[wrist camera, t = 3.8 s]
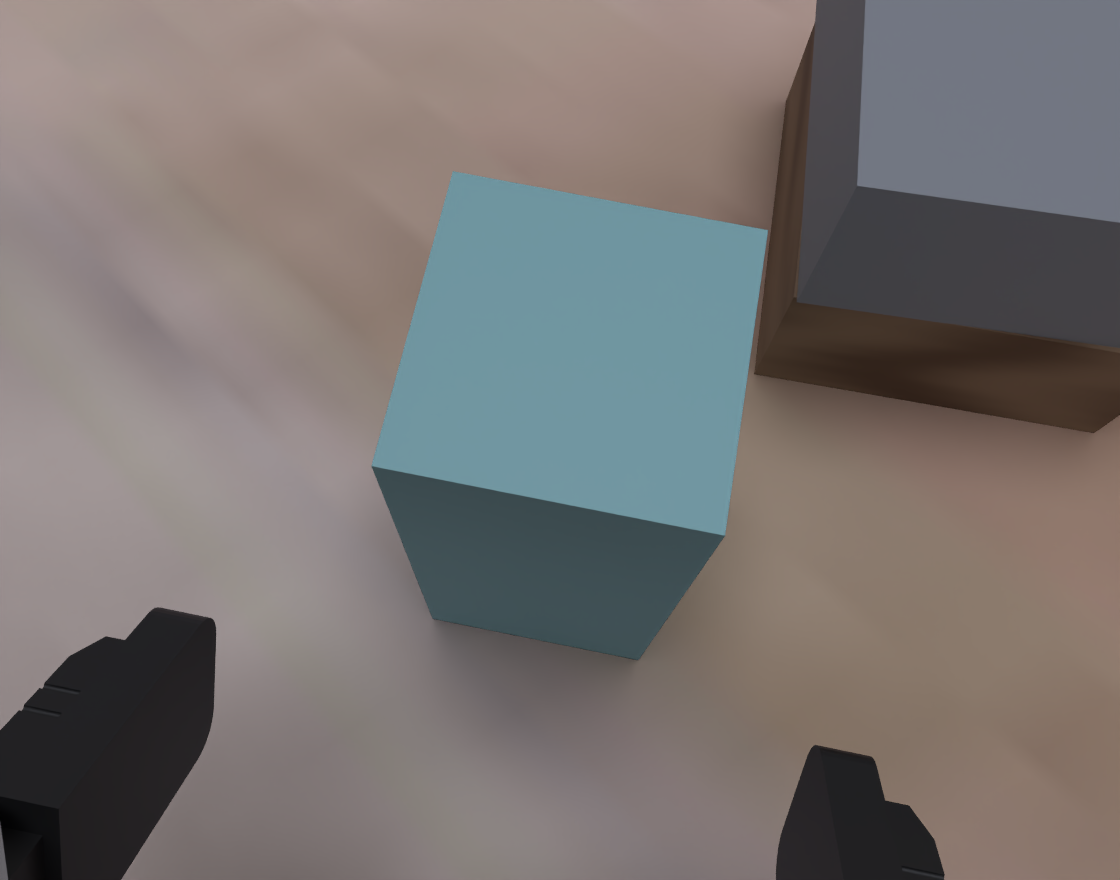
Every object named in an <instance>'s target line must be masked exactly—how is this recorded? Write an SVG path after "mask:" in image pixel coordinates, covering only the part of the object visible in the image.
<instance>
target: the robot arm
mask: <svg viewBox="0 0 1120 880" xmlns="http://www.w3.org/2000/svg"><path fill="white" fill-rule="evenodd" d="M215 652H216V626H215V622H214V620H213V619H212V618H208V617H203V616H198V615H193V614H189V613H184V612H179V611H174V610H169V609H164V608H159V607H157V608H154V609H153V610H151V611H150V612H149V613H148V614H147V616H146V617H145V618H144V619H143V620H142V621H141V622H140V624H139V625H138V626H137V627H136V628H135V629H134V631H133V632H132V633H131V634H130V635H129V636H128V637H127V639H126V640H121V639H116V638H111V637H104V638H102V639H100V640H99V641H97V642H95V643H93V644H91V645H89V646H87V647H86V648H84V649H82V650H80V651H78V652H76V653H75V654H73V655H71V656H69V657H68V658H67V659H66V660H65V661H64V663H63V664H62V665H61V666H60V667H59V668H58V669H57V670H56V671H55V672H54V673H53V674H52V675H51V676H50V678H49V679H48V680H47V681H46V682H45V683H44V687H43V689H41V688H39V689H38V690H37V692H36V693H35V694H34V695H33V696H32V697H31V698H30V699H29V700H28V701H27V702H26V703H25V704H24V708H23V710H22V711H18V712H17V713H16V714H15V715H14V716H13V717H12V718H11V719H10V721H9V722H8V723H7V724H6V725H5V726H4V727H3V728H2V729H1V730H0V880H121V879H122V877H123V876H124V874H125V873H126V871H127V869H128V868H129V866H130V865H131V863H132V862H133V860H134V858H135V857H136V855H137V854H138V852H139V851H140V849H141V847H142V846H143V844H144V843H145V841H146V840H147V838H148V836H149V835H150V833H151V832H152V830H153V829H154V827H155V826H156V824H157V822H158V821H159V819H160V818H161V816H162V815H163V813H164V811H165V810H166V808H167V807H168V805H169V804H170V802H171V800H172V799H173V797H174V796H175V794H176V793H177V791H178V789H179V788H180V786H181V785H182V783H183V782H184V780H185V778H186V777H187V775H188V774H189V772H190V771H191V769H192V767H193V766H194V764H195V763H196V761H197V760H198V758H199V756H200V754H201V752H202V750H203V748H204V746H205V743H206V740H207V738H208V734H209V731H210V727H211V723H212V718H213V710H214V683H215ZM944 875H945V874H944V871H943V868H942V864H941V861H940V857H939V854H938V851H937V847H936V844H935V840H934V839H933V837H932V836H931V835H930V833H929V832H928V830H927V829H926V828H925V826H924V825H923V824H922V822H921V821H920V820H919V818H918V817H917V816H916V814H915V813H914V812H913V810H912V809H911V808H910V806H908V805H903V804H899V803H894V802H889V801H885V798H884V794H883V790H882V786H881V782H880V778H879V774H878V770H877V766H876V763H875V761H874V759H873V758H872V757H870V756H866V755H861V754H856V753H852V752H847V751H842V750H837V749H832V748H827V747H823V746H818V745H815V746H813V747H812V748H811V750H810V752H809V754H808V756H807V759H806V762H805V765H804V768H803V771H802V774H801V776H800V779H799V782H798V785H797V788H796V791H795V794H794V797H793V800H792V803H791V806H790V809H789V812H788V815H787V818H786V821H785V824H784V827H783V830H782V833H781V837H780V842H779V847H778V854H777V865H776V880H944Z"/></svg>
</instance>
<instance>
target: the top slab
mask: <svg viewBox="0 0 1120 880" xmlns="http://www.w3.org/2000/svg"><path fill="white" fill-rule="evenodd" d="M797 302H799V303H806V304H813V305H820V306H827V307H834V308H841V309H848V310H855V311H862V312H869V313H876V314H883V315H890V316H897V317H905V318H912V319H919V320H926V321H933V322H940V323H949V324H956V325H962V326H969V327H976V328H983V329H990V330H997V331H1004V332H1011V333H1018V334H1025V335H1032V336H1039V337H1046V338H1053V339H1060V340H1067V341H1074V342H1081V343H1088V344H1095V345H1102V346H1109V347H1116V348H1120V0H817V4H816V19H815V34H814V49H813V64H812V79H811V94H810V109H809V124H808V139H807V154H806V169H805V184H804V199H803V216H802V231H801V246H800V261H799V277H798V292H797Z"/></svg>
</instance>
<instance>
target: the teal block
mask: <svg viewBox="0 0 1120 880" xmlns="http://www.w3.org/2000/svg"><path fill="white" fill-rule="evenodd" d="M767 234H768V230H764V229H759V228H753V227H748V226H743V225H737V224H732V223H726V222H721V221H716V220H710V219H705V218H700V217H694V216H689V215H684V214H678V213H673V212H668V211H662V210H657V209H652V208H646V207H641V206H636V205H630V204H625V203H619V202H614V201H609V200H603V199H598V198H593V197H587V196H582V195H577V194H571V193H566V192H561V191H555V190H550V189H545V188H539V187H534V186H528V185H523V184H518V183H512V182H507V181H502V180H496V179H491V178H486V177H480V176H475V175H470V174H464V173H459V172H454V171H453V173H452V177H451V180H450V184H449V188H448V191H447V195H446V199H445V202H444V206H443V209H442V213H441V217H440V220H439V224H438V227H437V231H436V235H435V238H434V242H433V246H432V249H431V253H430V256H429V260H428V264H427V267H426V271H425V275H424V278H423V282H422V285H421V289H420V293H419V296H418V300H417V303H416V307H415V311H414V314H413V318H412V322H411V325H410V329H409V332H408V336H407V340H406V343H405V347H404V350H403V354H402V358H401V361H400V365H399V369H398V372H397V376H396V379H395V383H394V387H393V390H392V394H391V397H390V401H389V405H388V408H387V412H386V416H385V419H384V423H383V426H382V430H381V434H380V437H379V441H378V444H377V448H376V452H375V455H374V459H373V463H372V468H373V471H374V473H375V476H376V478H377V481H378V483H379V486H380V488H381V491H382V493H383V496H384V498H385V501H386V503H387V506H388V508H389V511H390V513H391V516H392V518H393V521H394V523H395V526H396V528H397V531H398V533H399V536H400V538H401V541H402V543H403V546H404V548H405V551H406V553H407V556H408V558H409V561H410V563H411V566H412V568H413V571H414V573H415V576H416V578H417V581H418V583H419V586H420V588H421V591H422V593H423V596H424V598H425V601H426V603H427V606H428V608H429V611H430V613H431V616H432V618H433V619H437V620H442V621H447V622H452V623H457V624H462V625H467V626H472V627H477V628H482V629H486V630H491V631H496V632H501V633H506V634H511V635H516V636H521V637H526V638H531V639H536V640H541V641H546V642H551V643H556V644H561V645H566V646H571V647H576V648H581V649H586V650H591V651H596V652H600V653H605V654H610V655H615V656H620V657H625V658H630V659H635V660H639V659H640V657H641V656H642V654H643V653H644V651H645V650H646V648H647V647H648V646H649V644H650V643H651V641H652V640H653V638H654V637H655V636H656V634H657V633H658V631H659V630H660V628H661V627H662V625H663V624H664V623H665V621H666V620H667V618H668V617H669V615H670V614H671V613H672V611H673V610H674V608H675V607H676V605H677V604H678V602H679V601H680V600H681V598H682V597H683V595H684V594H685V592H686V591H687V589H688V588H689V587H690V585H691V584H692V582H693V581H694V579H695V578H696V577H697V575H698V574H699V572H700V571H701V569H702V568H703V566H704V565H705V564H706V562H707V561H708V559H709V558H710V556H711V555H712V554H713V552H714V551H715V549H716V548H717V546H718V545H719V543H720V542H721V541H722V539H723V538H724V536H725V532H726V525H727V517H728V510H729V503H730V496H731V489H732V482H733V475H734V468H735V461H736V454H737V446H738V439H739V432H740V425H741V418H742V411H743V404H744V397H745V390H746V383H747V376H748V368H749V361H750V354H751V347H752V340H753V333H754V326H755V319H756V312H757V305H758V298H759V290H760V283H761V276H762V269H763V262H764V255H765V248H766V241H767Z"/></svg>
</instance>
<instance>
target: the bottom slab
mask: <svg viewBox="0 0 1120 880" xmlns="http://www.w3.org/2000/svg"><path fill="white" fill-rule="evenodd" d="M814 34H815V24H814V27H813V29H812V32H811V35H810V38H809V40H808V43H807V46H806V48H805V51H804V54H803V57H802V59H801V62H800V65H799V68H798V70H797V73H796V76H795V79H794V81H793V84H792V87H791V90H790V92H789V95H788V98H787V100H786V107H785V115H784V124H783V132H782V141H781V150H780V158H779V167H778V175H777V184H776V193H775V201H774V210H773V218H772V227H771V236H770V244H769V253H768V261H767V270H766V279H765V287H764V296H763V304H762V313H761V322H760V330H759V339H758V347H757V356H756V365H755V373H754V374H757V375H763V376H768V377H774V378H780V379H786V380H791V381H797V382H803V383H809V384H814V385H820V386H826V387H832V388H837V389H843V390H849V391H855V392H860V393H866V394H872V395H878V396H883V397H889V398H895V399H901V400H907V401H912V402H918V403H924V404H930V405H935V406H941V407H947V408H953V409H958V410H964V411H970V412H976V413H981V414H987V415H993V416H999V417H1004V418H1010V419H1016V420H1022V421H1027V422H1033V423H1039V424H1045V425H1050V426H1056V427H1062V428H1068V429H1073V430H1079V431H1085V432H1091V433H1095V432H1096V431H1097V430H1099V429H1100V428H1102V427H1103V426H1105V425H1106V424H1107V423H1109V422H1110V421H1112V420H1113V419H1115V418H1116V417H1117V416H1119V415H1120V348H1116V347H1109V346H1102V345H1095V344H1088V343H1081V342H1074V341H1067V340H1060V339H1053V338H1046V337H1039V336H1032V335H1025V334H1018V333H1011V332H1004V331H997V330H990V329H983V328H976V327H969V326H962V325H956V324H949V323H940V322H933V321H926V320H919V319H912V318H905V317H897V316H890V315H883V314H876V313H869V312H862V311H855V310H848V309H841V308H834V307H827V306H820V305H813V304H806V303H799V302H797V292H798V277H799V261H800V246H801V231H802V216H803V199H804V184H805V169H806V154H807V139H808V124H809V109H810V94H811V79H812V64H813V49H814Z"/></svg>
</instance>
